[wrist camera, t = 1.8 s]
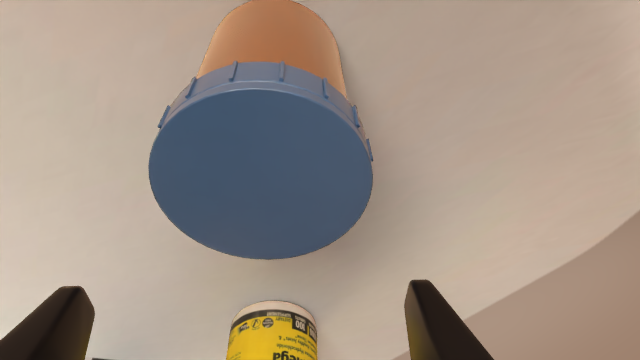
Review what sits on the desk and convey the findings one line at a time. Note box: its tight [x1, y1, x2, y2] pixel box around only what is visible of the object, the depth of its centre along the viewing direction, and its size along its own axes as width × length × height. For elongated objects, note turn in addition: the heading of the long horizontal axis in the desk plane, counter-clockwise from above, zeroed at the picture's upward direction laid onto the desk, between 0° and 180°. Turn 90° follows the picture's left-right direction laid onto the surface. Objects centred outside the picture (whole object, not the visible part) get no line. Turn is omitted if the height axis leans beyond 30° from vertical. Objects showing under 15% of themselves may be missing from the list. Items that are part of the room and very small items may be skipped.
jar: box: [196, 0, 347, 99], centre depth 16 cm, size 6×6×8 cm
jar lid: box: [148, 61, 373, 260], centre depth 13 cm, size 6×6×2 cm
